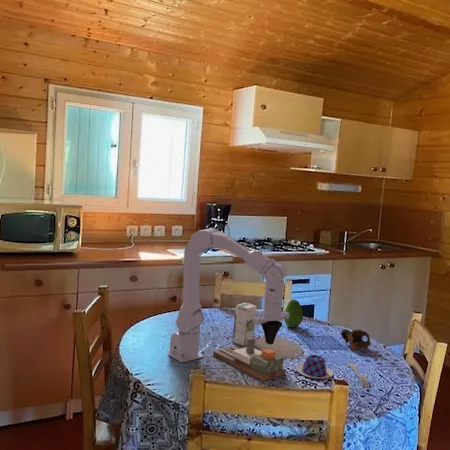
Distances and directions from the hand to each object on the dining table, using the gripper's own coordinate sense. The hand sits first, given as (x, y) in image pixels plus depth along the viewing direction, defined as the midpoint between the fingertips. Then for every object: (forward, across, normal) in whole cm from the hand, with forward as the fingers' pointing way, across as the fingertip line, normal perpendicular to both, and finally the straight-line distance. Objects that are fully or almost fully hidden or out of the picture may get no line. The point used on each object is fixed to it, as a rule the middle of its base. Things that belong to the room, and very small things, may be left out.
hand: (269, 343), depth 155 cm
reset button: (+5, 0, 0) cm, 5 cm away
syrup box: (+10, +13, +24) cm, 30 cm away
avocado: (+10, +45, +28) cm, 54 cm away
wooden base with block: (+10, 0, +8) cm, 13 cm away
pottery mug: (+10, +48, -1) cm, 49 cm away
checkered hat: (+11, +15, -8) cm, 20 cm away
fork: (+11, +26, -17) cm, 33 cm away
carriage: (+8, 0, +8) cm, 11 cm away
